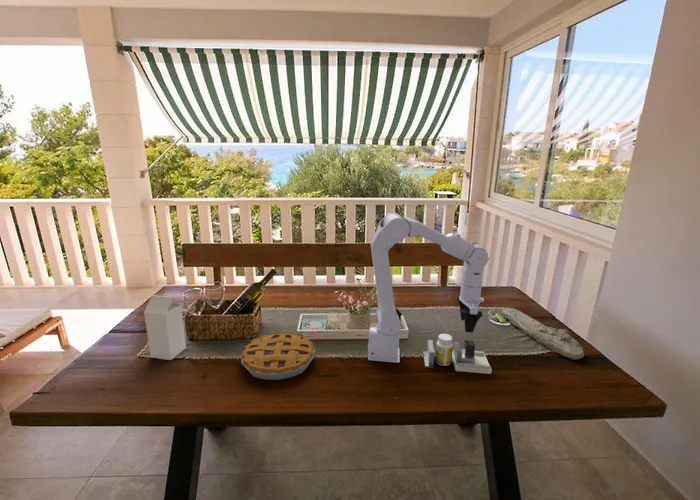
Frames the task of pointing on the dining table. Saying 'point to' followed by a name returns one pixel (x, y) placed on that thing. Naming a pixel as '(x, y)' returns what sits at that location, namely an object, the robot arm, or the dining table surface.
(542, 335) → the long grey stone
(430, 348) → the jaw
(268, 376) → the pie
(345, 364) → the dining table surface
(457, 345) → the grey boxy piece
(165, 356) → the milk carton
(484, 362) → the bed
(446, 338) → the supplement bottle
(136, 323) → the dining table surface
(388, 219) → the robot arm
